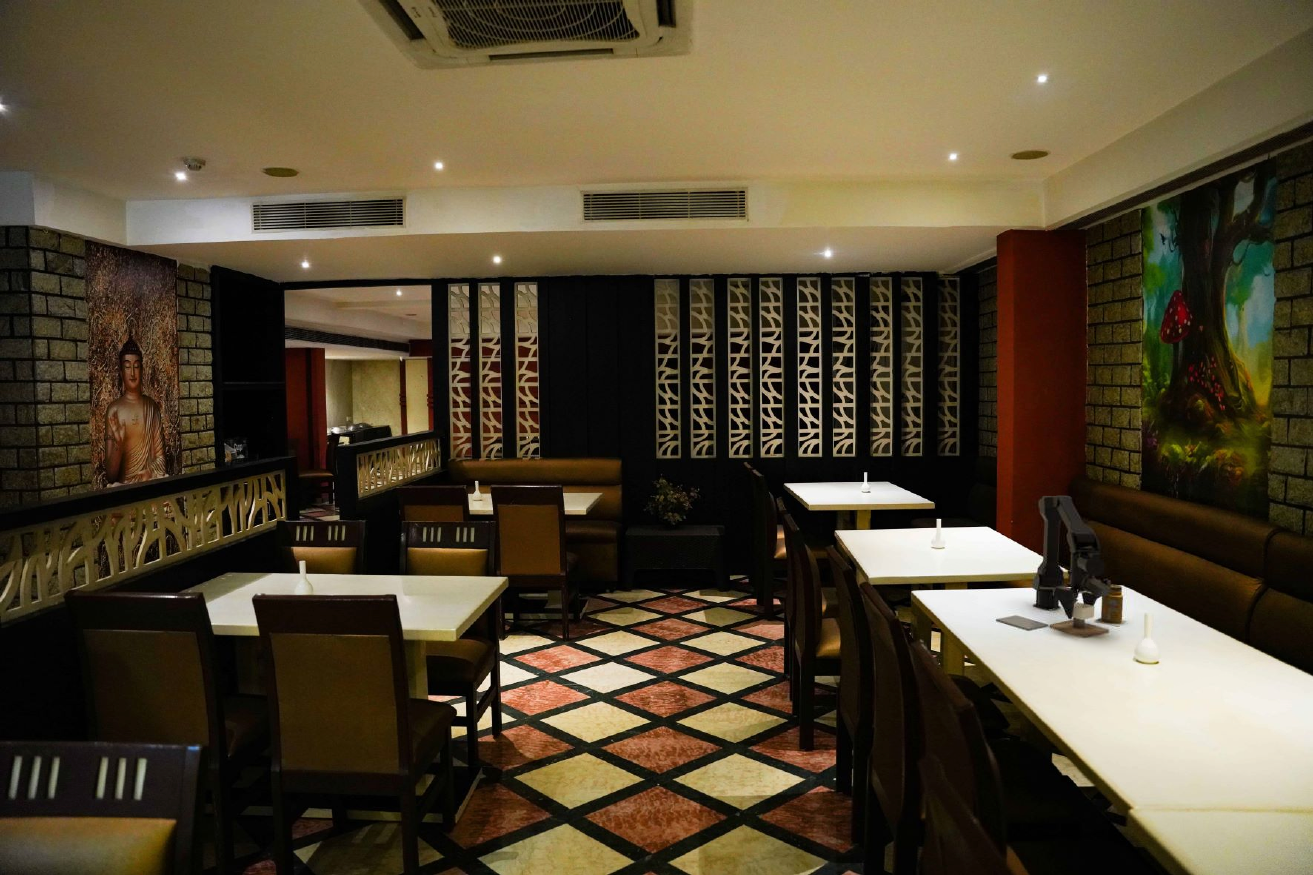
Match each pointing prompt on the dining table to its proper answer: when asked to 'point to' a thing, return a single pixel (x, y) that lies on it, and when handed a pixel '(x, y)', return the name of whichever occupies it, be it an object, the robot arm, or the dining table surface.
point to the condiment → (1112, 607)
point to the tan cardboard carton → (1082, 611)
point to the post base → (1079, 628)
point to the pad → (1022, 622)
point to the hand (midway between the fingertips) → (1079, 616)
